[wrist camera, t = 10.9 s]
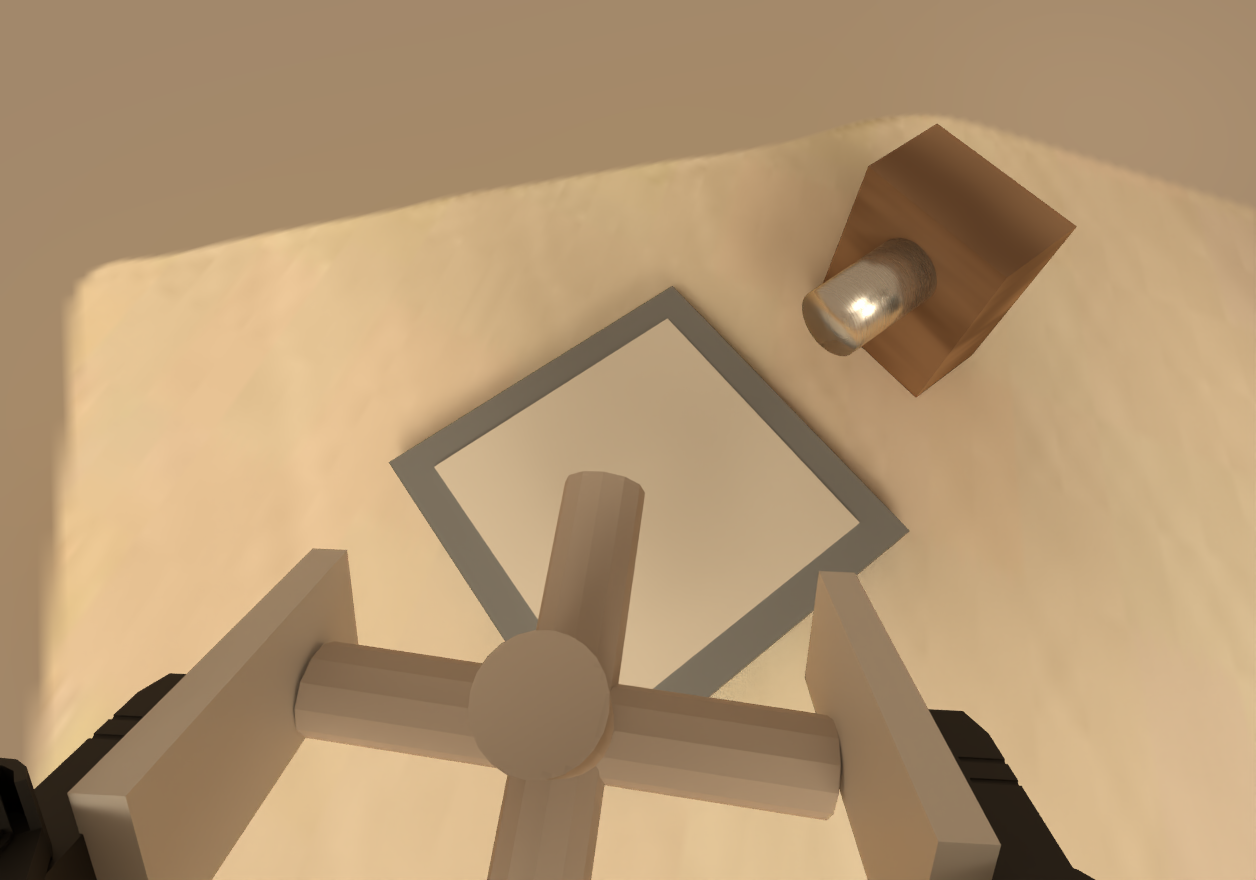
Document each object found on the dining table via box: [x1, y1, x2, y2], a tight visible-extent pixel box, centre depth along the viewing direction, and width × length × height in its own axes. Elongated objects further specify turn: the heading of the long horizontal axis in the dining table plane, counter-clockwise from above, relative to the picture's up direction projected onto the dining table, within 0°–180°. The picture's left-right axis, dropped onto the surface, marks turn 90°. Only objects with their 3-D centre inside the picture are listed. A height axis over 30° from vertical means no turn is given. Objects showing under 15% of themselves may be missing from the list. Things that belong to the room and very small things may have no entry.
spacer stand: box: [389, 124, 1077, 697], centre depth 28 cm, size 26×16×9 cm, turn 127°
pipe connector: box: [294, 471, 841, 880], centre depth 13 cm, size 10×10×10 cm
